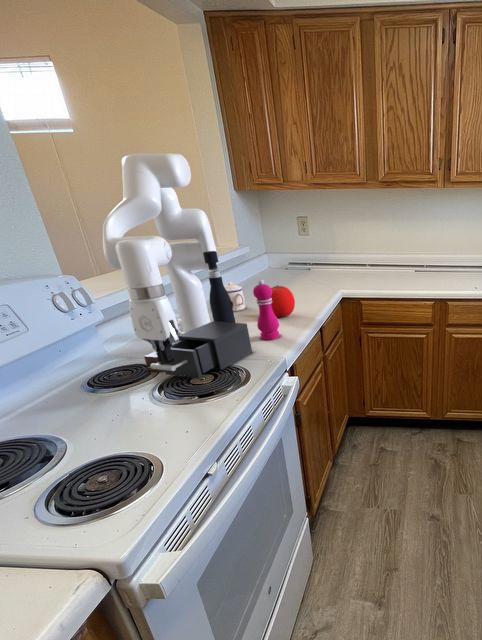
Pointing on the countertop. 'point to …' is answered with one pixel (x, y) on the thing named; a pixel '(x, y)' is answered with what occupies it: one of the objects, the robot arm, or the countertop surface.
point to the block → (152, 361)
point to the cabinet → (223, 341)
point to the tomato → (282, 301)
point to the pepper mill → (266, 312)
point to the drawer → (190, 358)
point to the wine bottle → (218, 291)
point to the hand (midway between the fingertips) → (167, 362)
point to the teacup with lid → (235, 296)
